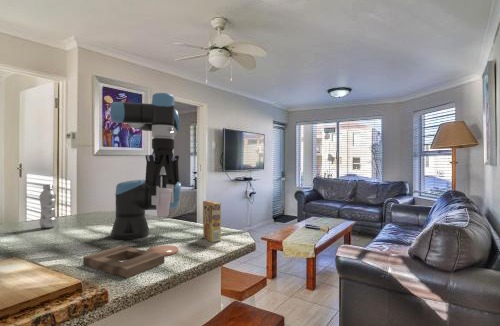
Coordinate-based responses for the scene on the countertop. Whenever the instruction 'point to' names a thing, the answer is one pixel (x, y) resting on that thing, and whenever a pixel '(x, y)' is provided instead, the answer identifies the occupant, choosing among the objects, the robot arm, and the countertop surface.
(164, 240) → the countertop surface
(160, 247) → the glossy peach dome
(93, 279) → the countertop surface
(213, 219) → the candy box
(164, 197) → the smoothie
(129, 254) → the frame
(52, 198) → the plastic bottle
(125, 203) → the robot arm
